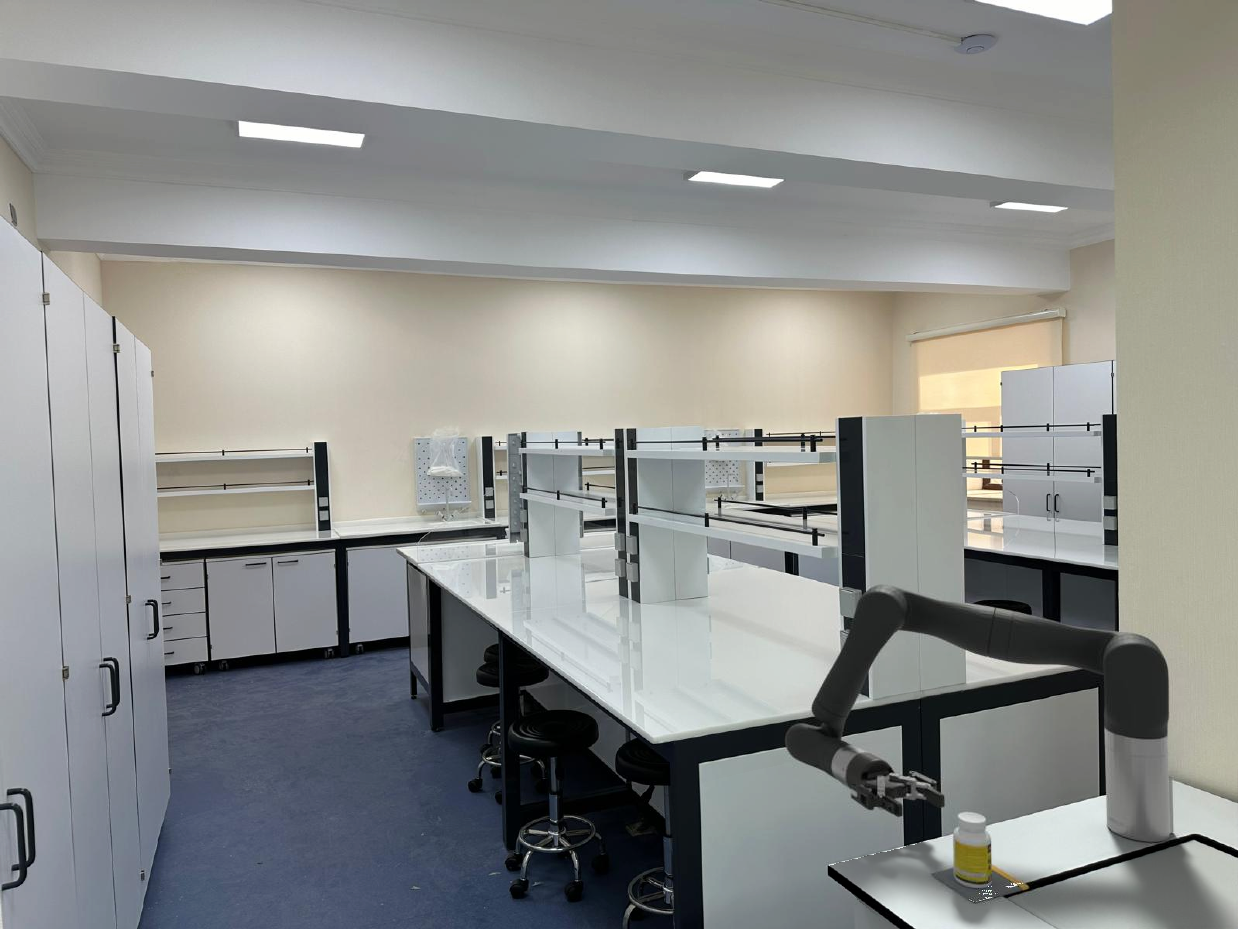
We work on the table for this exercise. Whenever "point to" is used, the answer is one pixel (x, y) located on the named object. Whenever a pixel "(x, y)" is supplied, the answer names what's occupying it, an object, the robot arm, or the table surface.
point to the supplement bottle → (972, 851)
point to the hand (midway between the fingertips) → (922, 806)
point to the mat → (998, 887)
